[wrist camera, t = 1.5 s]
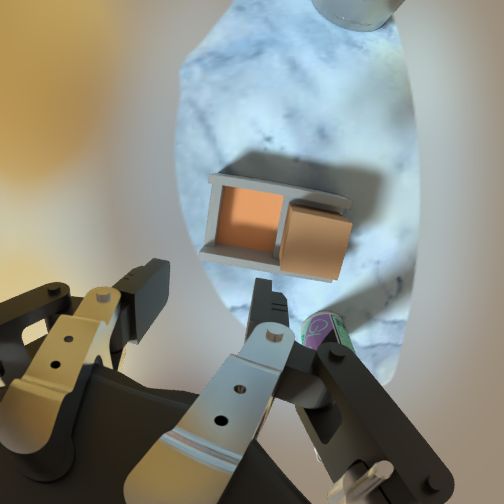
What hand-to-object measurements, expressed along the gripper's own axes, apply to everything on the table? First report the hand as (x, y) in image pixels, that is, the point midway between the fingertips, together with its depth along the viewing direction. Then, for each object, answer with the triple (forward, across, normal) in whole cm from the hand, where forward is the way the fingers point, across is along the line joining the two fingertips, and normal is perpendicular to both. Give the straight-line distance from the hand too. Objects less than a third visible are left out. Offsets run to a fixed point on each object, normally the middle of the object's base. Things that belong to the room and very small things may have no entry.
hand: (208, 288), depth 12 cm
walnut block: (+15, -6, 0) cm, 17 cm away
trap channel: (+17, -4, 0) cm, 18 cm away
